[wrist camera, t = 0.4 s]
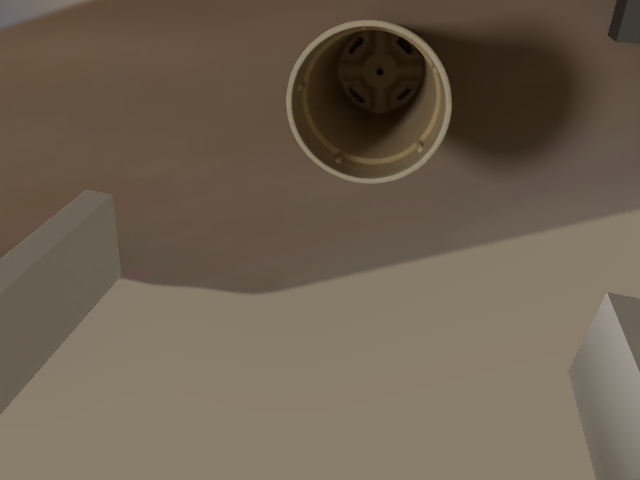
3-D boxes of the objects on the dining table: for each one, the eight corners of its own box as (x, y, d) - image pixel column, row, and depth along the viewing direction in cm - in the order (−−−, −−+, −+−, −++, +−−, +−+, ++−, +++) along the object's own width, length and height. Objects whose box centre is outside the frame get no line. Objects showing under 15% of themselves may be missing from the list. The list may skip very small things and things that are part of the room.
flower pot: (475, 27, 36) (482, 58, 29) (418, 152, 41) (411, 206, 34) (340, -25, 36) (314, -7, 29) (300, 107, 41) (268, 150, 34)
